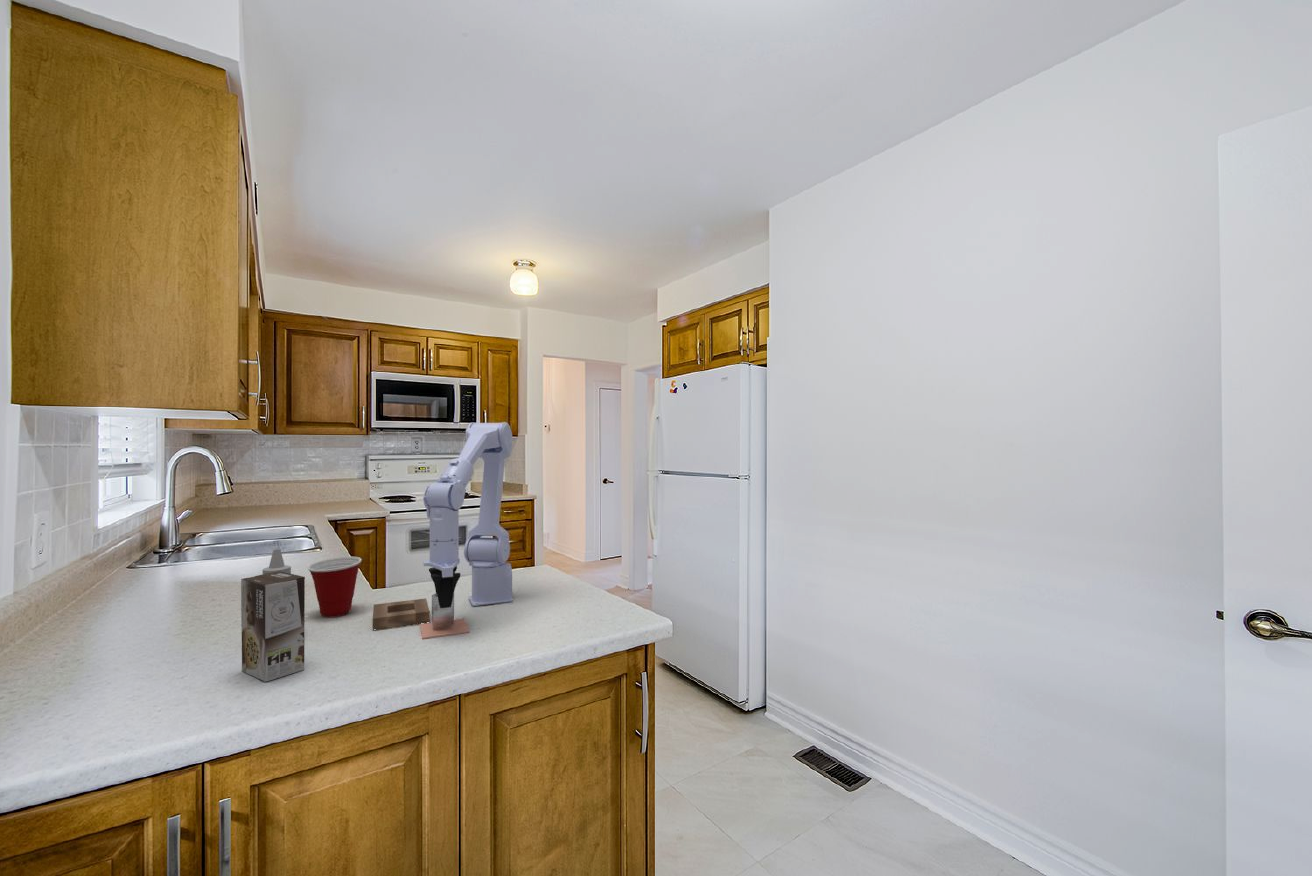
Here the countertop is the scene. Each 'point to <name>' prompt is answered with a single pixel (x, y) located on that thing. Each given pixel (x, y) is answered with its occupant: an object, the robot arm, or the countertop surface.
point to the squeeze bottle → (277, 563)
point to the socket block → (400, 613)
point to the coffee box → (272, 625)
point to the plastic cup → (335, 584)
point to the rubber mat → (444, 629)
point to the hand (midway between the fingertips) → (444, 604)
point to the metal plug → (441, 613)
